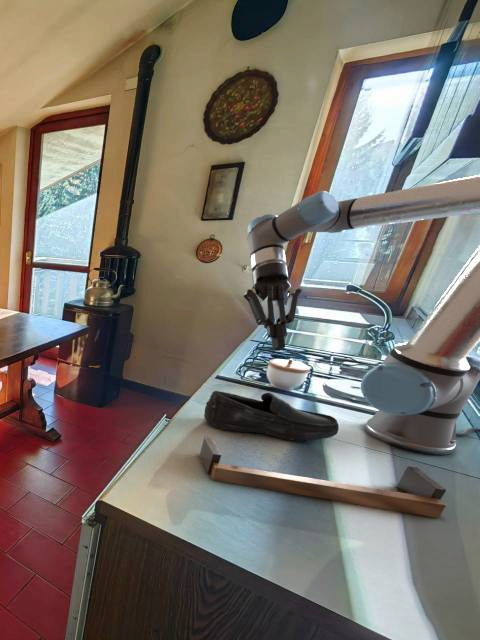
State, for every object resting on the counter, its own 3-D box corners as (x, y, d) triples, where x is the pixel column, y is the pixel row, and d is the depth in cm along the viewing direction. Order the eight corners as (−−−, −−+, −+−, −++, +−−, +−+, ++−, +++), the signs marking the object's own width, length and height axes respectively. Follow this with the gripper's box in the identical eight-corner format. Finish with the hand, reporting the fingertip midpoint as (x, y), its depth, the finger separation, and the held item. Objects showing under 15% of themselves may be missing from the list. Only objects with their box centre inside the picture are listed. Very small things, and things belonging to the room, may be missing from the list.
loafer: (342, 448, 93) (360, 410, 89) (210, 434, 98) (221, 398, 94) (316, 427, 102) (330, 392, 99) (197, 416, 108) (206, 382, 104)
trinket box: (254, 380, 133) (262, 354, 129) (282, 379, 134) (291, 353, 130) (280, 393, 123) (290, 365, 119) (311, 392, 124) (321, 364, 121)
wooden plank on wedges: (405, 487, 79) (416, 467, 78) (441, 518, 71) (455, 496, 69) (199, 455, 90) (204, 436, 88) (209, 479, 81) (215, 459, 79)
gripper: (288, 275, 108) (300, 354, 102) (235, 277, 111) (243, 353, 105) (304, 259, 101) (318, 343, 95) (247, 261, 104) (257, 342, 98)
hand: (279, 348), depth 100 cm, fingers closed
